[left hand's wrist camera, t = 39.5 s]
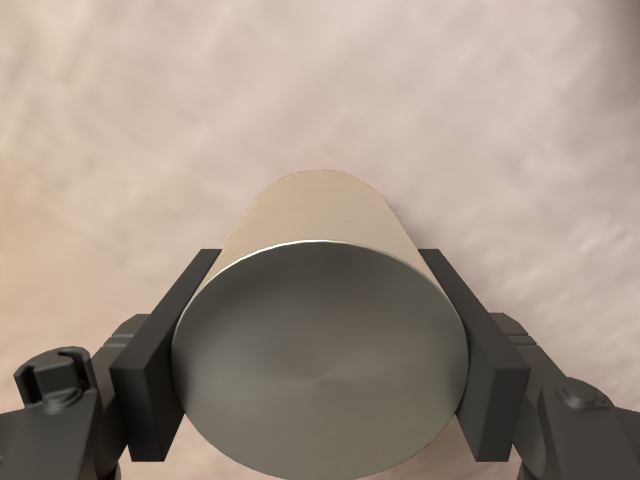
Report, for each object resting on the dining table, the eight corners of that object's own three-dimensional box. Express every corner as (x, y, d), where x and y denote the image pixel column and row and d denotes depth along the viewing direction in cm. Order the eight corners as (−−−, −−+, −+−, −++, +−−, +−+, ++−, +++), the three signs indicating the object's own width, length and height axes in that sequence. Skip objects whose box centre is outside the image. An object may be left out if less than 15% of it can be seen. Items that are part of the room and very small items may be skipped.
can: (306, 132, 15) (292, 169, 7) (434, 238, 17) (533, 361, 9) (208, 260, 17) (115, 396, 9) (330, 344, 19) (338, 518, 11)
